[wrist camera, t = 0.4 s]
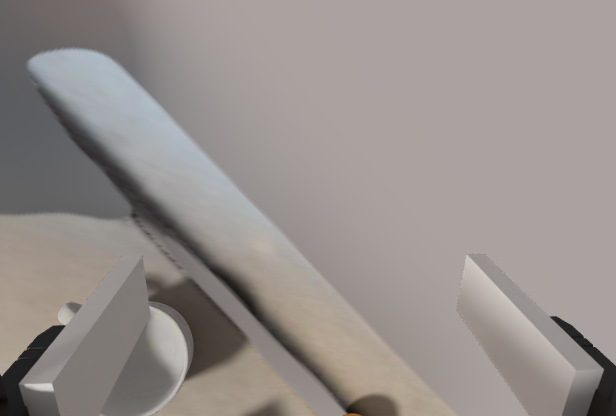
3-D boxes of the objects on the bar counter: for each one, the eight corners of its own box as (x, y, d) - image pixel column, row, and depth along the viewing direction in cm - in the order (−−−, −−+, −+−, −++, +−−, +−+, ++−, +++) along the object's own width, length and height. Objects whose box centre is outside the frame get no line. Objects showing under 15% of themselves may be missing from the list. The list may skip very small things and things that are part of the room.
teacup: (218, 346, 46) (212, 359, 39) (143, 421, 44) (120, 451, 36) (135, 260, 47) (112, 255, 39) (56, 329, 44) (16, 339, 37)
